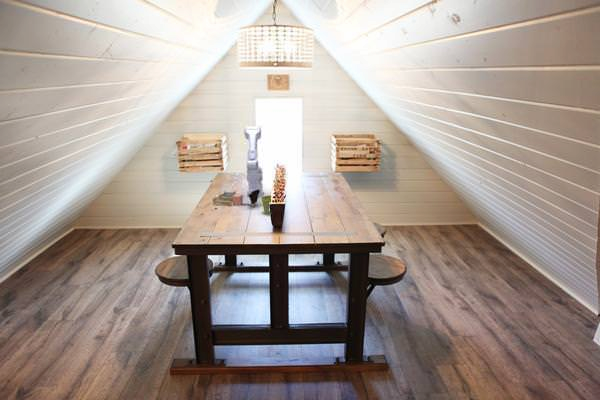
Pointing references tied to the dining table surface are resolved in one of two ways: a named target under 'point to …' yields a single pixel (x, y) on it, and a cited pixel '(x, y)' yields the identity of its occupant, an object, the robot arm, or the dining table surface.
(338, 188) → the dining table surface
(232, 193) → the grey block
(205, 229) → the dining table surface
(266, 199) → the plant pot
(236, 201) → the tethered block
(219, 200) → the lane shelf
